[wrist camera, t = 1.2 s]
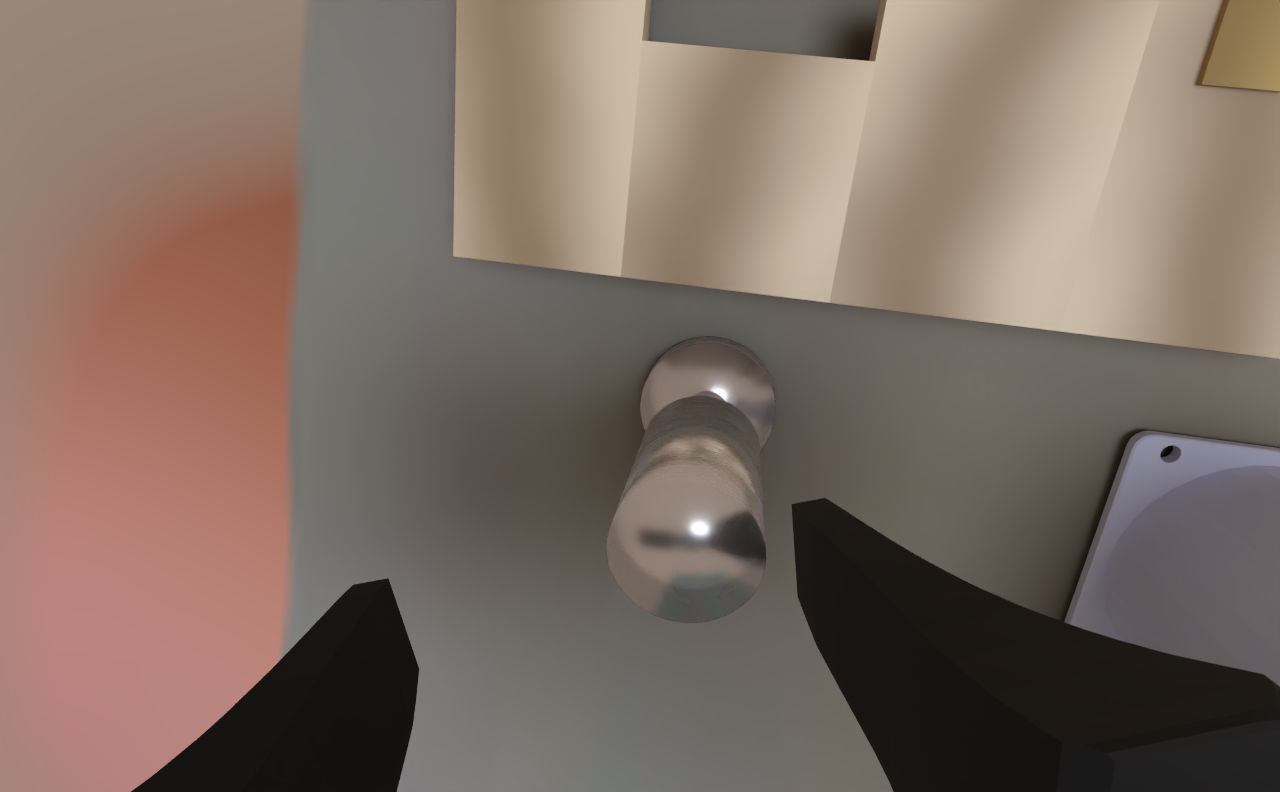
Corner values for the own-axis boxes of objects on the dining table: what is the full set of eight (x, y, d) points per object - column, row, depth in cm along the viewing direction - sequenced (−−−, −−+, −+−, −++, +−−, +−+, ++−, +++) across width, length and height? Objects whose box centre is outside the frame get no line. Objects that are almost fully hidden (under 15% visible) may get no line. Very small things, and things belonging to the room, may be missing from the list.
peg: (784, 345, 21) (811, 474, 12) (763, 467, 22) (774, 660, 14) (651, 328, 22) (588, 441, 13) (638, 449, 23) (573, 625, 14)
